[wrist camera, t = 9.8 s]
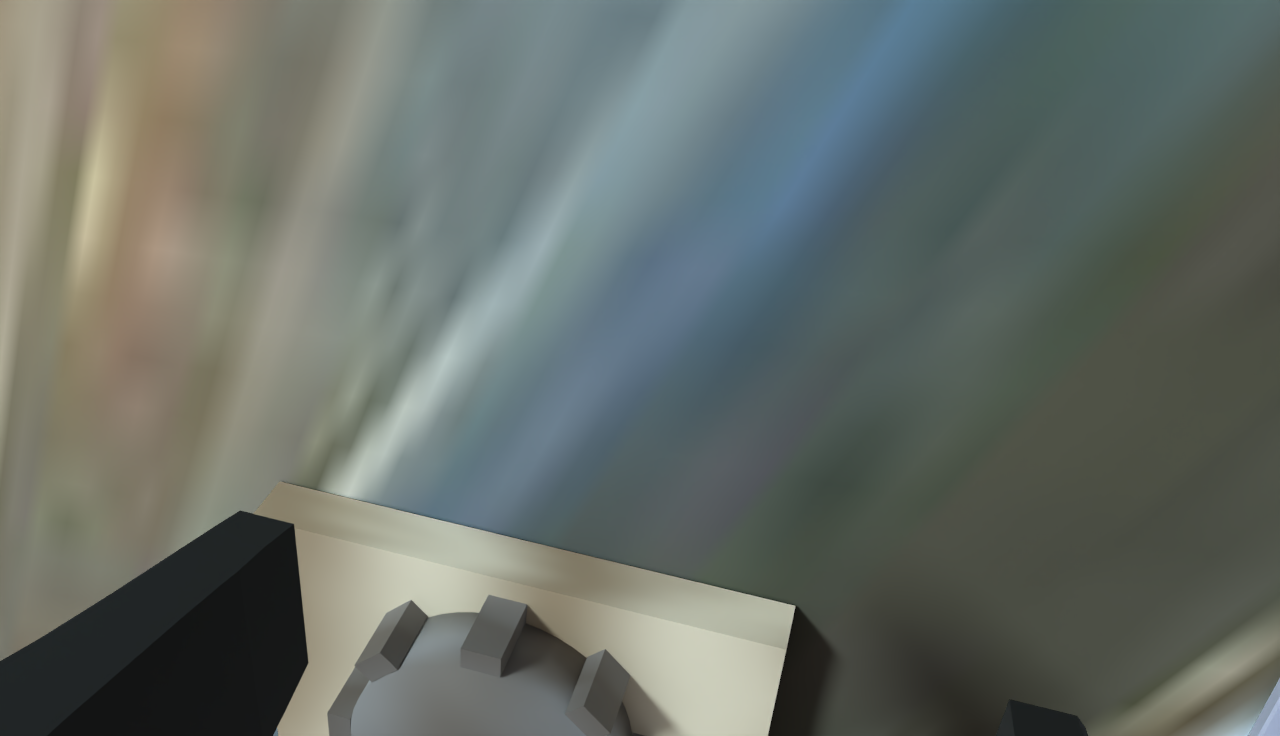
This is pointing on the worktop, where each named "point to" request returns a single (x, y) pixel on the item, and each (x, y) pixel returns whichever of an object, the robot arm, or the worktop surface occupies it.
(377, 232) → the worktop surface
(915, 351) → the worktop surface
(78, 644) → the robot arm
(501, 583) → the gear board
